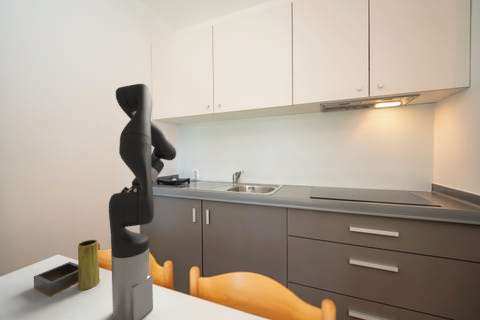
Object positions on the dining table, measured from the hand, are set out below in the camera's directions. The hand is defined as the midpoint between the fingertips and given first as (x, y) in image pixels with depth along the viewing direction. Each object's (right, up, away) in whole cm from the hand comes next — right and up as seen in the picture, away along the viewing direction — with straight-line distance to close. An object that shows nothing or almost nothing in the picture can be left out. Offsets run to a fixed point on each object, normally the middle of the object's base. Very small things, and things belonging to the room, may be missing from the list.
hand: (122, 211), depth 80 cm
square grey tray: (-15, -22, -10) cm, 29 cm away
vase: (-5, -22, -11) cm, 25 cm away
